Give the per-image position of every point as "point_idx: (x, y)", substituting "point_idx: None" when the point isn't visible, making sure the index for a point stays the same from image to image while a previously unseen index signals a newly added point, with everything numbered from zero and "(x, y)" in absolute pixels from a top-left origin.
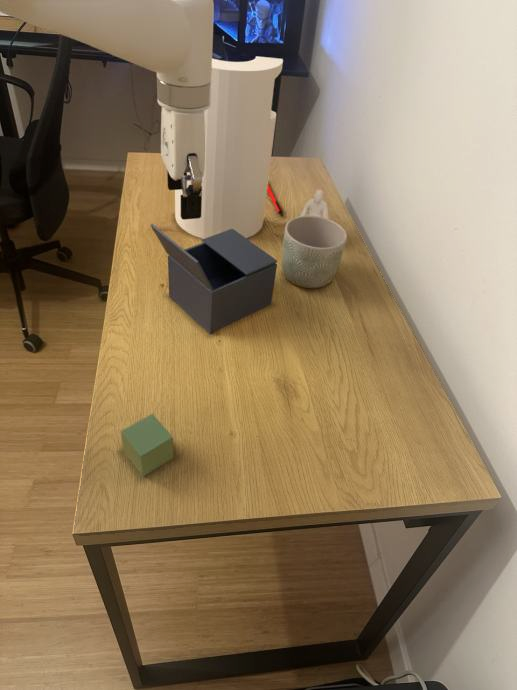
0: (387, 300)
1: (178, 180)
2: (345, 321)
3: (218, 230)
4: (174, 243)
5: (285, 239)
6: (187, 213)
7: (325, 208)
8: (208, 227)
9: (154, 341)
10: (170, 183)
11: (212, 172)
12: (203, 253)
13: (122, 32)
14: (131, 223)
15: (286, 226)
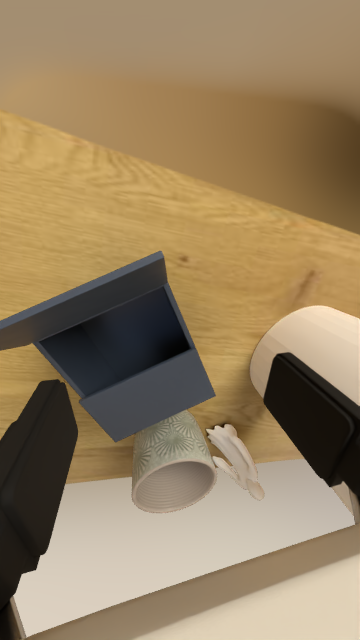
0: (113, 477)
1: (290, 407)
2: (82, 443)
3: (265, 356)
4: (33, 310)
5: (178, 448)
6: (8, 428)
7: (238, 483)
8: (274, 346)
9: (48, 218)
10: (290, 374)
11: None
12: (185, 337)
13: None
14: (338, 242)
15: (196, 460)
